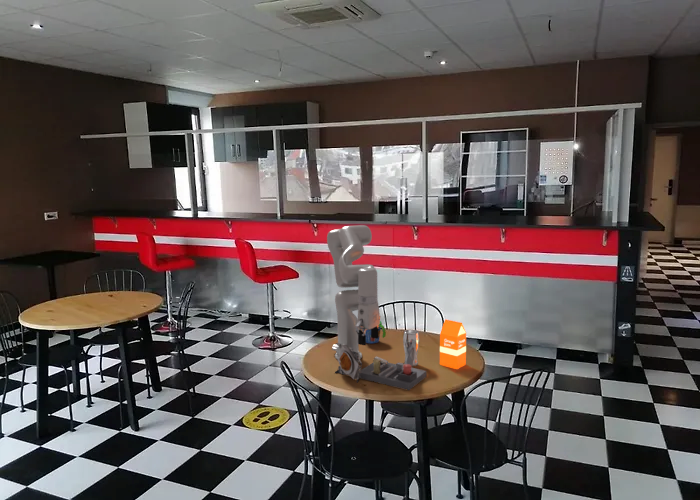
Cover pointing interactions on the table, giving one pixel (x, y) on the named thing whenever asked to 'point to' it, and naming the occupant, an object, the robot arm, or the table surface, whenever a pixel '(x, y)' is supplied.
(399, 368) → the steel slider
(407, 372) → the button
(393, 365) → the panel
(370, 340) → the snack cup
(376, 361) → the brass slider
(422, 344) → the table surface
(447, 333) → the orange juice
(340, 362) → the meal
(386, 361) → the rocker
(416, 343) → the beer glass
